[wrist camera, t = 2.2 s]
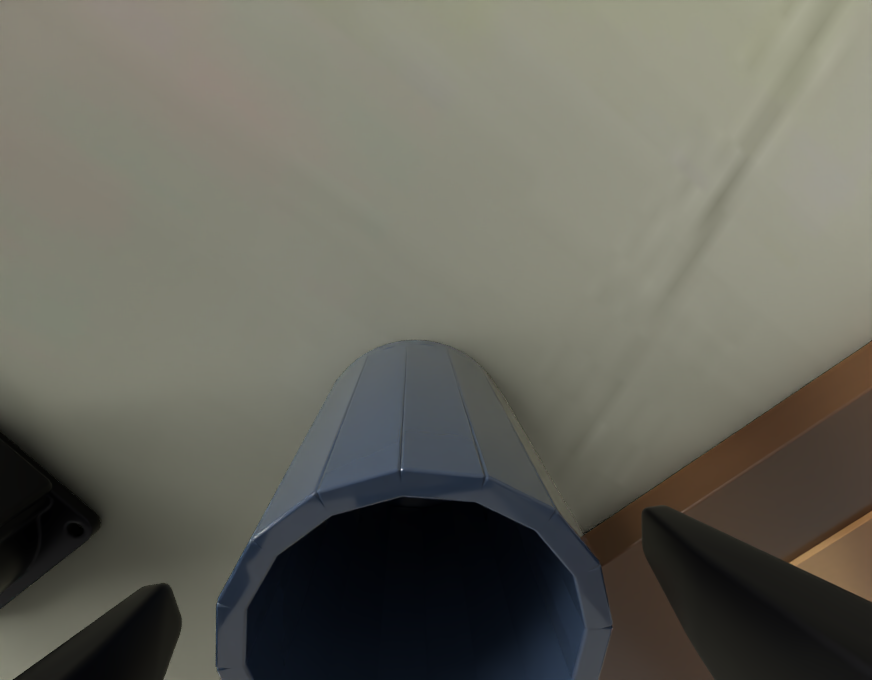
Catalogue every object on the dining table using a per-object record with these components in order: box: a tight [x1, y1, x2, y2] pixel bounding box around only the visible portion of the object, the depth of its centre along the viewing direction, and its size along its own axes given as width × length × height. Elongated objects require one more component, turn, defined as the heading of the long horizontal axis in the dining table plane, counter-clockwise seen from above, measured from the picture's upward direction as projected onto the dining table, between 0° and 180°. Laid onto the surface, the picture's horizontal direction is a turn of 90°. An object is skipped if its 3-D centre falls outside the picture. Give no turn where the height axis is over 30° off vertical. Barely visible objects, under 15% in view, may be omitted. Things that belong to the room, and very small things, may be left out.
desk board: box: [585, 341, 872, 680], centre depth 15 cm, size 20×16×2 cm
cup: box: [216, 340, 613, 680], centre depth 10 cm, size 6×6×8 cm
